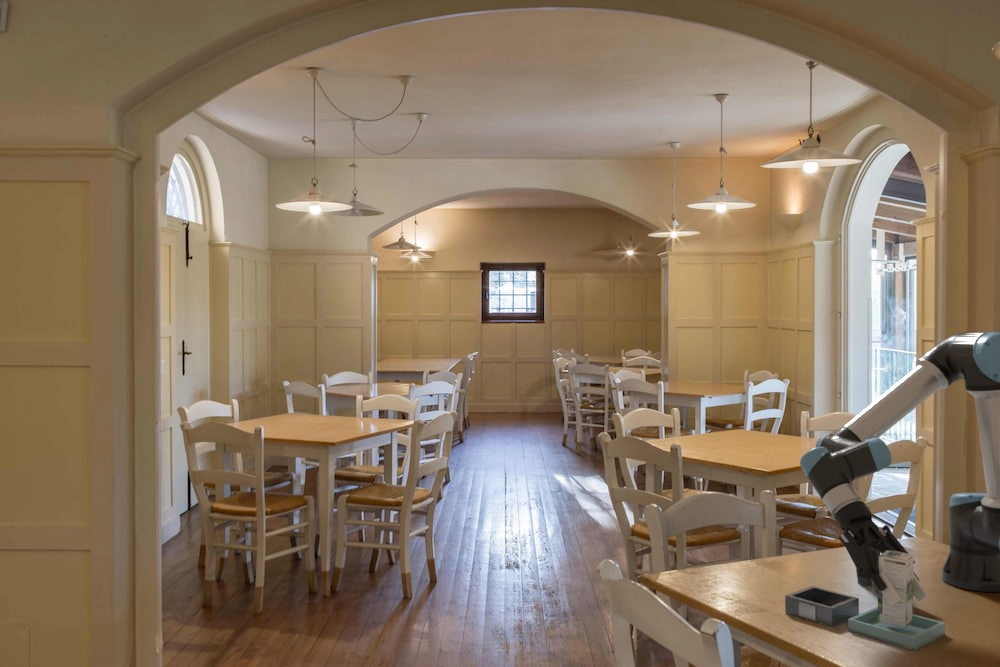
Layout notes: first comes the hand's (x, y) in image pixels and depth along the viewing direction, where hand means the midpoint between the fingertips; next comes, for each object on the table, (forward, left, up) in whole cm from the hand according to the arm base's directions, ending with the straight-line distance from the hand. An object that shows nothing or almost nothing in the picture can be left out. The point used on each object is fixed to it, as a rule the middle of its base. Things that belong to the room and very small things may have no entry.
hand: (909, 600), depth 172 cm
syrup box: (-1, -3, -6) cm, 7 cm away
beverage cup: (-29, -24, -8) cm, 38 cm away
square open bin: (+1, -19, -8) cm, 21 cm away
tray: (-1, -3, -8) cm, 9 cm away
